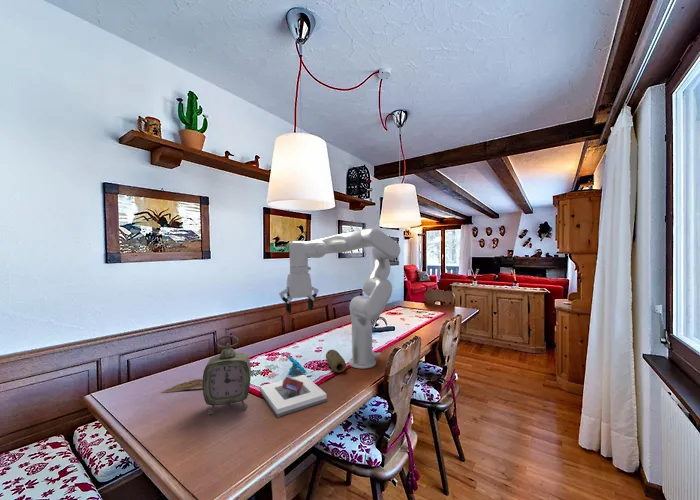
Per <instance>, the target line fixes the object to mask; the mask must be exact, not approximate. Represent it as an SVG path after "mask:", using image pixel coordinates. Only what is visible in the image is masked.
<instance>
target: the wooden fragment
mask: <svg viewBox="0 0 700 500" xmlns="http://www.w3.org/2000/svg"><path fill="white" fill-rule="evenodd" d="M202 385H203V378H202V379H201V378H197V379H194V380H189V381H185V382H182V383H177V384H176V385H175V386H173V387H171V388H167V389H165V390H163V391H161V392H160V394H164V393H172V392H181V391H188V390H200V389H202V390H203V386H202Z"/></svg>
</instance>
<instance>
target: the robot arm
mask: <svg viewBox="0 0 700 500" xmlns="http://www.w3.org/2000/svg"><path fill="white" fill-rule="evenodd" d="M288 247H289V273H288V274H287V278H286V286H285V287H286V288H285V289H283V290H281V291H280V292H279V293H278V294H279V297H280V299H281V300H282V301H283V302H284V303H285V311H286V313H288V314H291V313H292V303H291V301H292V300H293V299H300V298H307V299H308V300H307V304H308V305H307V309H308V310H309V311H313V310H314V301H315V299H316V298H317V295H318V294H319V288H316V287H314V286H312V285H313V284H312V278H311V274H310V273H309V272H310V271H311V269H312V268H311V267H310V266H309V258H310V259H312V258H314V259H320V258H322V257H324V256H325V255H327V254H338V253H339V254H341V253H347V252H351V251H355V250H359V249H363V248H368V247H369V248H370V247H371V253H372V254H371V255H372V257H373V258H372V259H373V261H374V262H373V263H374V264H373V267H372V269H371V271H370V273H369V274H368V276H367V278H366V280H365V282H364V283H363V286H362V291H363V293H364V294H365V295H366V296H363V295H357V296H354V297H353V298H352V299H351V301H350V302H349V313H350V314H349V315H350V320H351V357H352V358H351V359H349V361H348V364H349V366H350V367H352V368H355V369H359V370H361V369H362V370H363V369H371V368H374V367H375V366H376V364H377V360H376V358H380V357H381V356H382V355H381V354H382V353H381V352H380V351H379V352H375V351H373V326H372V325H373V324H372V321H376V320H377V319H379V317H380V316H381V315H382V314H383V312H384V309H385V308H386V306H387V305H388V302H389V300H390V298H391V297H392V294H393V285H392V283H391V281H390V280H389V279H388V277H390V273H391V263H390V260H394V259H396V258H398V257H399V256H400V253H401V247H400V245H399V243H398V242H397V241H396V240H394V239H393V238H392V237H390V236H389V235H388V234H387V233H385V232H383V231H382V230H381V229H378V228H376V227H372V228H371V227H370V228H363V229H359V230H354V231H349V232H344V233H339V234H334V235H331V236H328V237H324V238H323V237H322V238H319V239H314V240H308V241H304V240H293V241H290V243H289V246H288ZM285 295H286V296H285Z"/></svg>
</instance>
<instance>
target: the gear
mask: <svg viewBox="0 0 700 500" xmlns="http://www.w3.org/2000/svg"><path fill="white" fill-rule="evenodd" d="M287 359H289V361H290V362H291V364H292V365H291V367H290V368H289V370H290V371H289V372H288V374H289V375H291V374H292V373H293V372H294V370H296V369H299V370H300V371H301V372H302V373H303V374H306V372H307V370H306V369H305V367H303V365H301V363H300V362H299V361H298V360H297V359H295V358H294V357H292V356H291V355H289V356H288V357H287Z"/></svg>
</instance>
